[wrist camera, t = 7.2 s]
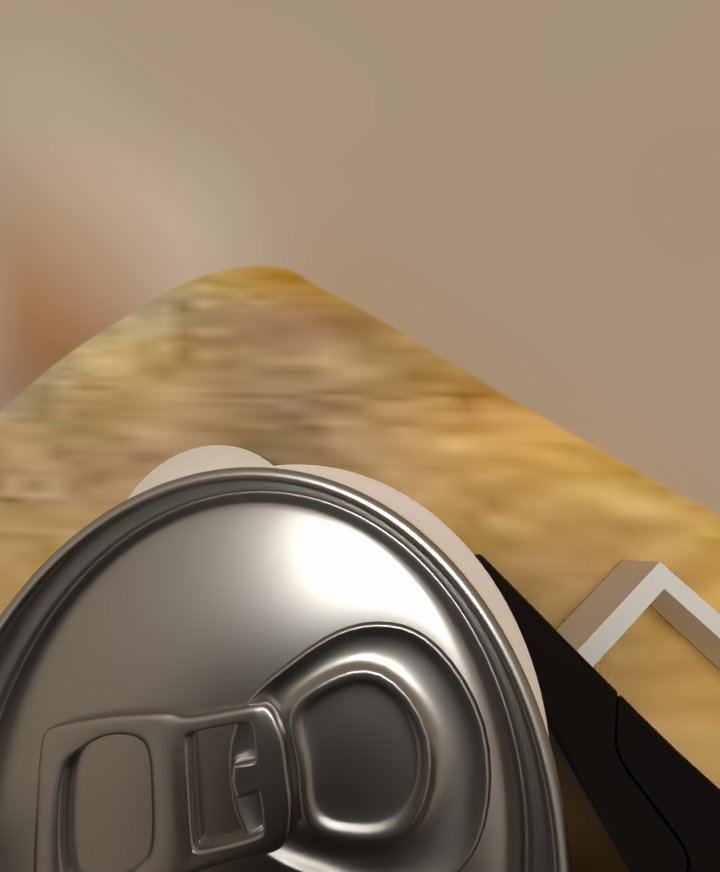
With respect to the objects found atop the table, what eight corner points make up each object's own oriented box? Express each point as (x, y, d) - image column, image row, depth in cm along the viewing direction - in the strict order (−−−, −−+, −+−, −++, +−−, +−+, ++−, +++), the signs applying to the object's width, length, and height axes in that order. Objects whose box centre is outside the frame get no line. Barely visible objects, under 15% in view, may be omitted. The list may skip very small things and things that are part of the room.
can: (474, 680, 13) (891, 1482, 2) (302, 718, 13) (-271, 1605, 2) (424, 504, 15) (469, 361, 4) (276, 540, 16) (-80, 506, 4)
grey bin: (677, 943, 15) (740, 1035, 12) (482, 708, 18) (496, 738, 15) (830, 748, 16) (920, 790, 13) (622, 560, 19) (659, 561, 17)
